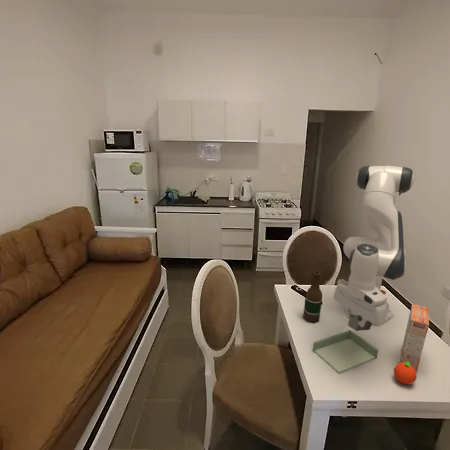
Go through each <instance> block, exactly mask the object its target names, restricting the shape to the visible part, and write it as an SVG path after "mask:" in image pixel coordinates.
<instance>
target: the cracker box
mask: <svg viewBox="0 0 450 450" xmlns="http://www.w3.org/2000/svg"><path fill="white" fill-rule="evenodd" d="M429 315H430V313H429V307H427V306H423V305H419V304H415V303H412V304H411V307H410V312H409V316H408V320H407V324H406V329H405V334H404V337H403V341H402V345H401V351H400V352H401V353H400V362H399V363H402V362H403V363H405V362H410V365H411V366H412V367H413V368H414V369H415V371H416V374H417V372H418V368H419V366H420V361H421V357H422V354H423V349H424V345H425V342H426V338H427V334H428V330H429V326H430V322H429V321H430V316H429Z"/></svg>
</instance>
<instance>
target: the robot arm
mask: <svg viewBox="0 0 450 450" xmlns="http://www.w3.org/2000/svg"><path fill="white" fill-rule="evenodd" d="M355 180H356V181H355V182H356V186H357V187H358V188H359V189H360V190H364V194H363V198H362V210H363V212H365V213H364V214H365V220H364V223H365V226H366V227H367V228H368V229H369V230H371V231H372V232H374V233H375V234H376V236H377V238H373V237H372V238H371V237H365V236H350V237H347V238H346V240H345V241H344V243H343V252H344V254H345V256H346V257H347V258H348V259H349V262H348V267H349V269H350V275H349V276H348V277H349V278H348V281H347V280H345V279H343V278H341V279H340V278H339V279H338V280H337V284H336V287H335V291H334V294H333V298H334V300H335V301H336V302H338V303H339V304H340V305H342V306H344V310H345V312H346V319H350V316H354V315H360V316H361V317H362V319H363V320H361V321H359V322H358V323H359V324H358V325H359V326H361V327H364V326H365V322H366V321H369V322H371V323H372V325H373V326H377V327H379V326H381V325H383V324H384V323H386V322H388V320H390V319H392V318H393V317H394V313H393V312H392V311H391V310H390V304H389V303H388V301H387V300H388V297H387V296H386V293H387V292H386V290H384V289H381V288H382V282H383V278H385V279H389V280H392V281H394V280H397V279H400V278H402V277H403V276H405V275H404V274H405V272H406V270H407V269H406V268H407V262H406V259H407V250H406V248H405V244H404V225H403V216H402V212H400V210H398V209H397V207H396V193H398V196H399V197H400V196H401V195H402V194H404V193H407V192H408V191H410V190H411V188H412V187H413V185H414V182H415V174H414V170H413V169H412V168H410V167H406V166H403V167H402V166H396V165H395V166H394V165H365V166H362V167H360V168H359V170H358V172H357V173H356V177H355Z"/></svg>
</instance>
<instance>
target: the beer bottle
mask: <svg viewBox="0 0 450 450" xmlns="http://www.w3.org/2000/svg"><path fill="white" fill-rule="evenodd" d="M321 276H322V275H321V272H320V271H318V270H315V271H313V272H312V279H311V285H310V286H309V288H308V289H307V291H306V293H305V297H304V307H303V320H305V322H307V323H312V324H316V323H319V321H320V317H321V310H322V304H323V303H322V302H323V291H322V290H321V288H320V284H321V283H320V281H321Z"/></svg>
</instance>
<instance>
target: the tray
mask: <svg viewBox="0 0 450 450" xmlns="http://www.w3.org/2000/svg"><path fill="white" fill-rule="evenodd" d="M312 345H313V347H312V352H314V353H315V354H316V355H317V356H318V357H320V359H321V360H323V362H325V363H326V364H327V365H328V366H329V367H331V369H333V370H334V371H335V372H336V373H337V374H338V375H340V374H342V373H344V372H347V371H349V370H352V369H355V368H356V367H359V366H362V365H364V364H366V363H369V362H371V361H374V360H376V359H377V358H378V354H379V349H378V348H376V346H374V345H372V344H371V343H370V342H368V341H367V340H366V339H364V338H362V337H361V336H359V334H357V333H355V332H354V331H353V330H351V329H348V330H345V331H342V332H340V333H337V334H333V335H331V336H327V337H325V338H322V339H319V340H315V341H313V344H312Z"/></svg>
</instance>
